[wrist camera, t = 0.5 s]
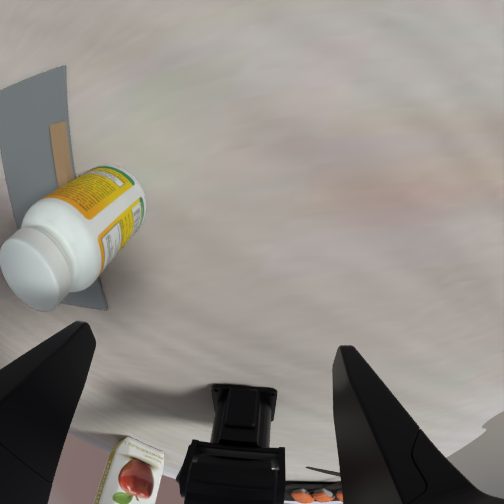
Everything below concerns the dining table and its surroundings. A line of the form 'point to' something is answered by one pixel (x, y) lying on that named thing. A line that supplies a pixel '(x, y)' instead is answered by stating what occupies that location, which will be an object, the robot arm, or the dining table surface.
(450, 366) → the dining table surface
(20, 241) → the supplement bottle
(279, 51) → the dining table surface
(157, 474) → the juice carton
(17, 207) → the grey flat board
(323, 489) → the sushi plate
